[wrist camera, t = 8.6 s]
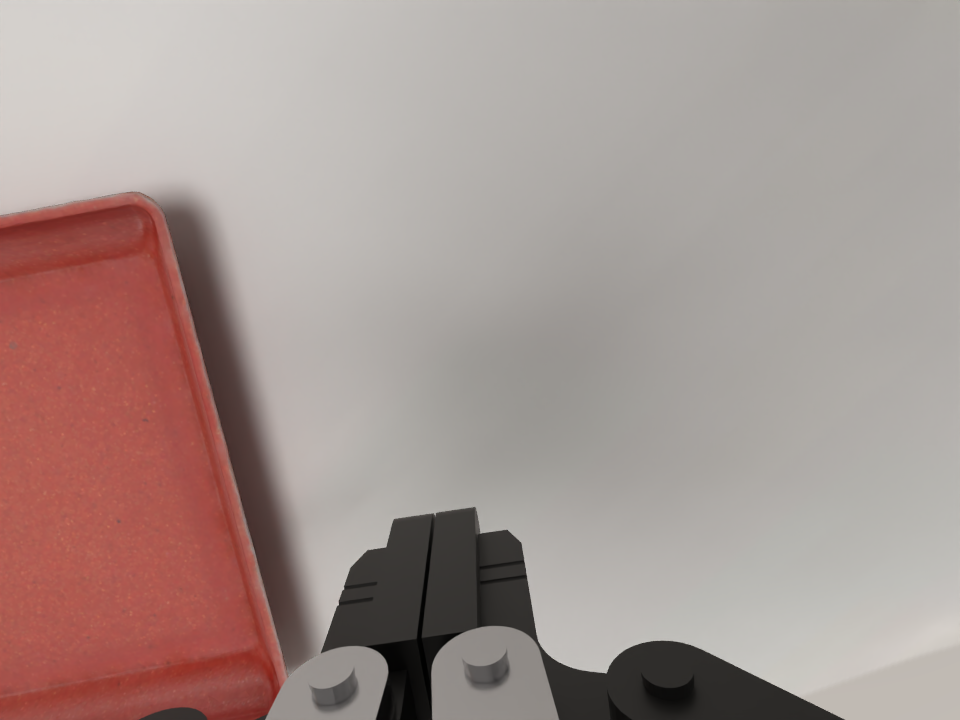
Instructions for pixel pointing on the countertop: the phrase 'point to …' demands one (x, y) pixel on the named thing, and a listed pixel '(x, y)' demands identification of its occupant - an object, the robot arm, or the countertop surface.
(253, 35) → the countertop surface
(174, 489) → the plant saucer
